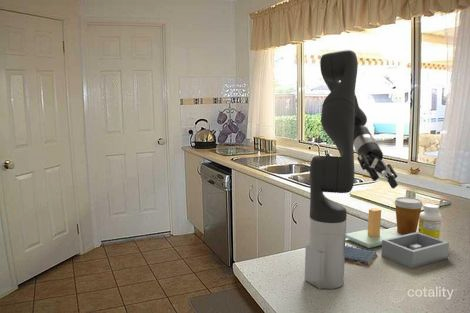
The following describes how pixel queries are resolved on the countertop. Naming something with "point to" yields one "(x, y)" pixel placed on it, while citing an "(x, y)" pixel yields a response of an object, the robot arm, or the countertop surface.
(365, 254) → the woven mat
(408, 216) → the disposable coffee cup
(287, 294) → the countertop surface
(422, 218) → the supplement bottle
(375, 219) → the lid
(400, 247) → the parts tub
